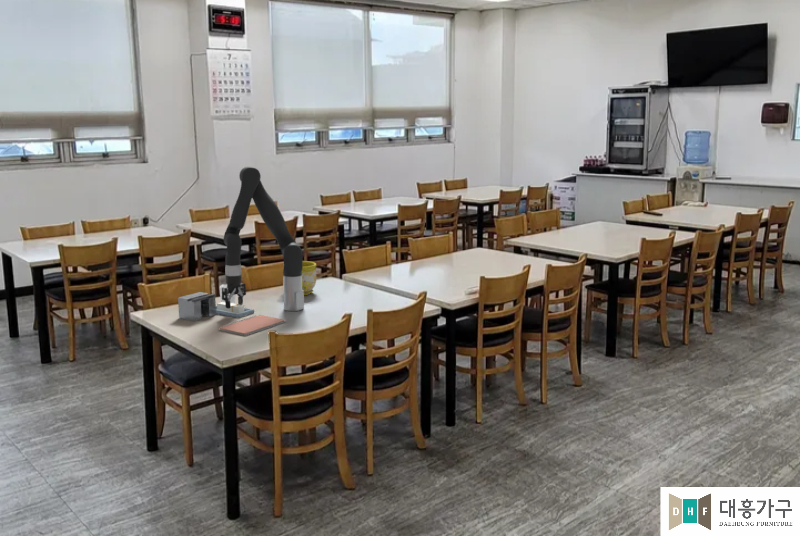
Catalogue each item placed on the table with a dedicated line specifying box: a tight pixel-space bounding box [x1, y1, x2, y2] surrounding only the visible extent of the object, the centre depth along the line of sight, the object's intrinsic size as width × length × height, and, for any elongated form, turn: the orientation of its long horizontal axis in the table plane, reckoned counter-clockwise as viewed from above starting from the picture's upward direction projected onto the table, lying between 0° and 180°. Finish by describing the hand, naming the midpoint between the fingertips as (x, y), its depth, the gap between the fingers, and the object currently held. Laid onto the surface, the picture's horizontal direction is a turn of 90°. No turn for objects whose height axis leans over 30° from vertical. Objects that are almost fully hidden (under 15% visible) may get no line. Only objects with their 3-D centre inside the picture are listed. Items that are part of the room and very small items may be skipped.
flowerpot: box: [282, 260, 317, 296], centre depth 397 cm, size 18×18×16 cm
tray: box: [216, 305, 255, 319], centre depth 356 cm, size 20×11×2 cm, turn 60°
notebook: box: [218, 314, 286, 337], centre depth 333 cm, size 27×17×2 cm, turn 149°
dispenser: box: [177, 291, 217, 322], centre depth 347 cm, size 10×14×10 cm
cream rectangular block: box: [216, 301, 245, 313], centre depth 356 cm, size 14×4×4 cm, turn 60°
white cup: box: [219, 284, 237, 304], centre depth 369 cm, size 8×8×10 cm
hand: (234, 306), depth 355 cm, fingers open, 8 cm apart
